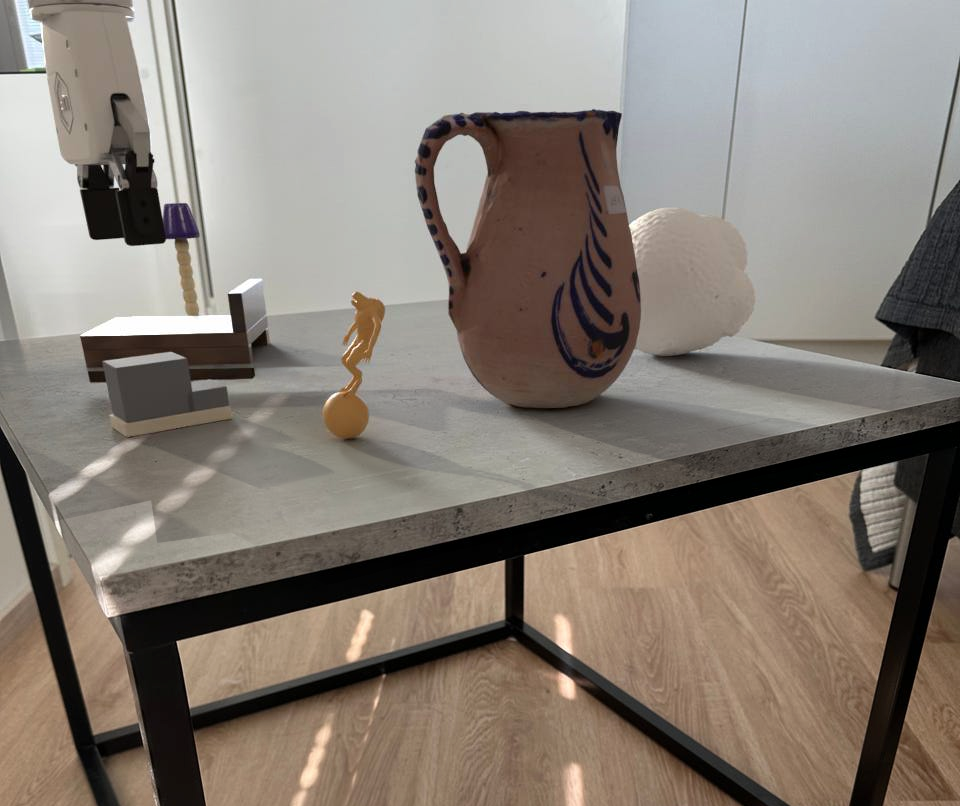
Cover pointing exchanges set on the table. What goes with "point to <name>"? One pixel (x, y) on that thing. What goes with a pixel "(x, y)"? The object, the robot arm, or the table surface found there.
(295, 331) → the table surface
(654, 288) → the white lobed lump
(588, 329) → the ceramic pitcher
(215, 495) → the table surface
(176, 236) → the toy lamp
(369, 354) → the figurine
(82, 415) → the table surface
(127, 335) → the wooden doll bed
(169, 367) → the trainer
